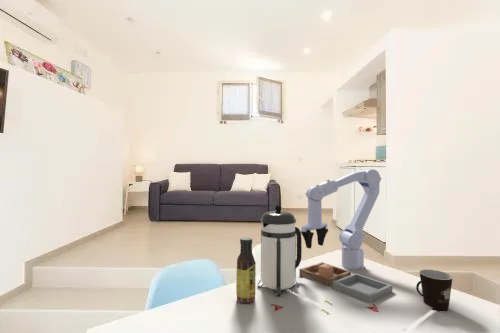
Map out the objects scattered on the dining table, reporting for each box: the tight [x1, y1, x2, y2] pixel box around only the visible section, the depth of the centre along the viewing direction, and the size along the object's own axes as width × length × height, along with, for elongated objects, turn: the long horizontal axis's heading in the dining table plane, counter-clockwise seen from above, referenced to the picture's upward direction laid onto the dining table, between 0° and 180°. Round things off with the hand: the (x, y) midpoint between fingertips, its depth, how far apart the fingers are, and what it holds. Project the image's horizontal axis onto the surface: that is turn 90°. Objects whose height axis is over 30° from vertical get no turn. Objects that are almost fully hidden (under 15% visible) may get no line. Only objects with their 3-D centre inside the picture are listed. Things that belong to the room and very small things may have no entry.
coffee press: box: [257, 204, 303, 297], centre depth 102 cm, size 17×16×30 cm
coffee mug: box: [416, 269, 453, 312], centre depth 88 cm, size 12×9×10 cm
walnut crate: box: [299, 261, 352, 287], centre depth 110 cm, size 14×14×3 cm
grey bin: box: [332, 272, 393, 304], centre depth 98 cm, size 14×14×3 cm
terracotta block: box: [319, 263, 334, 278], centre depth 110 cm, size 4×4×4 cm
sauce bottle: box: [235, 237, 257, 304], centre depth 92 cm, size 7×6×20 cm
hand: (314, 246), depth 120 cm, fingers open, 7 cm apart
